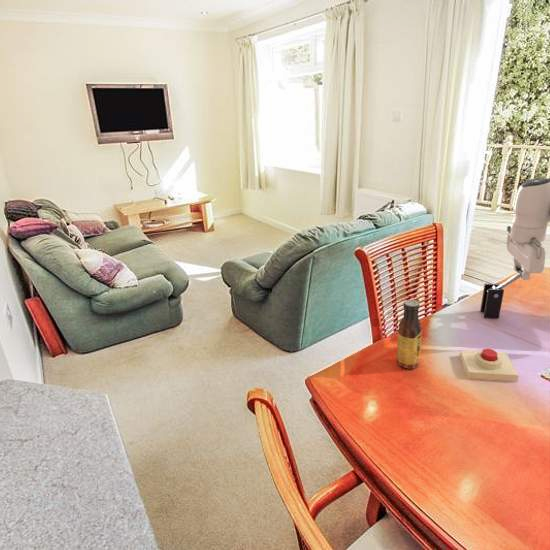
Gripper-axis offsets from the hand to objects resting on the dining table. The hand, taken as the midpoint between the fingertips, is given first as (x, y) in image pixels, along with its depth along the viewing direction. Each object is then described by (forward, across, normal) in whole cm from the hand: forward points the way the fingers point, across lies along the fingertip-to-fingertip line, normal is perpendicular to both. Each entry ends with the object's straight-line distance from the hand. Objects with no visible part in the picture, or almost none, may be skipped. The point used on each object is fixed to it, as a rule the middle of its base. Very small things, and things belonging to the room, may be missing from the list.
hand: (521, 274), depth 119 cm
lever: (+4, 0, +3) cm, 5 cm away
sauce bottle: (+15, -28, +37) cm, 49 cm away
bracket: (+16, 0, +8) cm, 18 cm away
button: (+12, -28, +15) cm, 34 cm away
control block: (+16, -28, +16) cm, 36 cm away
